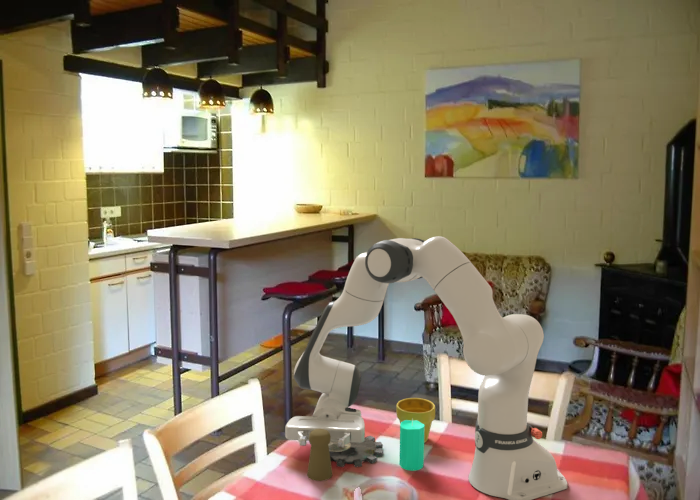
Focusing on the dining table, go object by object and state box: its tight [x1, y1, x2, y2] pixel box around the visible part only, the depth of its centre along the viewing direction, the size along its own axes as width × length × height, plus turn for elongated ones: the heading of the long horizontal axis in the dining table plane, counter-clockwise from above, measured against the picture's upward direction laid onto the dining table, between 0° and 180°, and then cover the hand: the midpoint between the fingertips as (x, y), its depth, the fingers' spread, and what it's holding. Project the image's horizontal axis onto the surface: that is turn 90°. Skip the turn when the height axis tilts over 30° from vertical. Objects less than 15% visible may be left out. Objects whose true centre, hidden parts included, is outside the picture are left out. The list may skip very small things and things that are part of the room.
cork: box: [306, 429, 333, 482], centre depth 143 cm, size 6×6×11 cm
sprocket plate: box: [328, 435, 384, 468], centre depth 156 cm, size 18×18×1 cm
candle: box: [398, 418, 425, 472], centre depth 148 cm, size 6×6×12 cm
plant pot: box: [395, 397, 436, 444], centre depth 162 cm, size 10×10×10 cm
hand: (321, 443), depth 146 cm, fingers open, 8 cm apart
